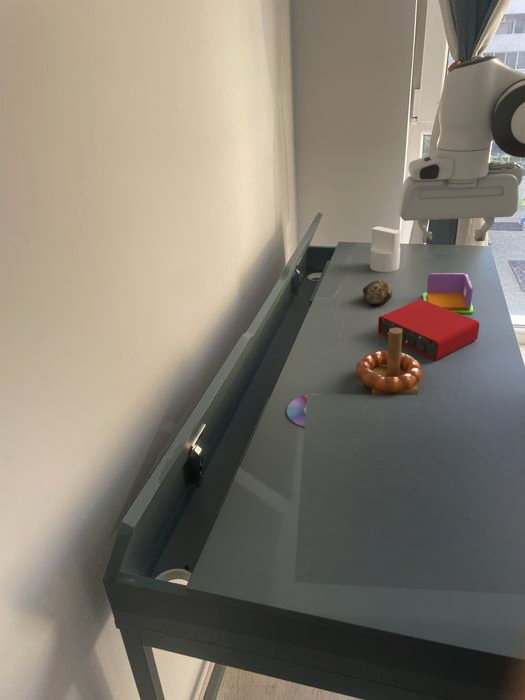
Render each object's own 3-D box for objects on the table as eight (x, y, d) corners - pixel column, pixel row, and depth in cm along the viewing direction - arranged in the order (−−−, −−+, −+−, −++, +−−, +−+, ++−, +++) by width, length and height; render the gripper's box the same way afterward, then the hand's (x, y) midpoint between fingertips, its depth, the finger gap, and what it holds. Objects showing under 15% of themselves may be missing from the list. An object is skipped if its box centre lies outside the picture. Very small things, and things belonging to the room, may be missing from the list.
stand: (411, 371, 114) (415, 319, 108) (417, 395, 106) (422, 341, 100) (369, 371, 115) (371, 320, 109) (372, 395, 107) (374, 341, 101)
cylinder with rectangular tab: (364, 267, 167) (365, 231, 161) (381, 259, 172) (382, 223, 166) (387, 274, 161) (389, 236, 155) (404, 265, 166) (407, 228, 160)
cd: (355, 408, 104) (355, 407, 104) (317, 436, 97) (317, 435, 97) (311, 387, 111) (311, 387, 111) (274, 412, 105) (274, 412, 104)
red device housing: (377, 333, 130) (378, 315, 127) (417, 315, 136) (418, 298, 134) (436, 362, 117) (438, 342, 114) (477, 340, 123) (479, 321, 121)
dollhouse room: (467, 294, 145) (470, 271, 141) (474, 314, 135) (478, 289, 131) (422, 294, 147) (424, 271, 144) (425, 313, 137) (428, 289, 133)
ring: (416, 360, 115) (417, 348, 113) (426, 394, 104) (427, 382, 102) (355, 360, 117) (355, 348, 115) (357, 394, 105) (358, 382, 104)
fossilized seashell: (394, 301, 139) (396, 291, 148) (382, 279, 138) (385, 271, 147) (368, 313, 142) (372, 303, 151) (356, 292, 141) (361, 284, 150)
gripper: (519, 157, 93) (506, 233, 100) (400, 163, 95) (395, 237, 102) (530, 164, 87) (516, 245, 94) (404, 171, 90) (399, 248, 97)
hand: (452, 241), depth 98 cm, fingers open, 8 cm apart
